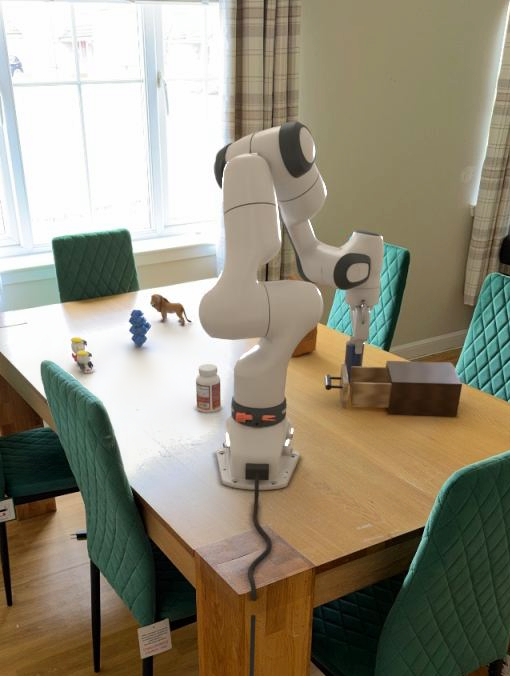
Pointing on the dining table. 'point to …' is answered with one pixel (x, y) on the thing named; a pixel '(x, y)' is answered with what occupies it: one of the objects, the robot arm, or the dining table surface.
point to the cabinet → (423, 388)
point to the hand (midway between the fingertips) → (357, 347)
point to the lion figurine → (168, 308)
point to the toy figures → (81, 354)
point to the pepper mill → (352, 356)
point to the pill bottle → (208, 388)
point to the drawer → (363, 386)
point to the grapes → (138, 327)
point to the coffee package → (309, 340)
